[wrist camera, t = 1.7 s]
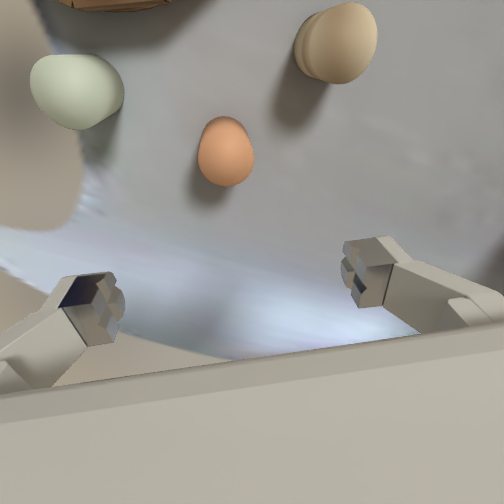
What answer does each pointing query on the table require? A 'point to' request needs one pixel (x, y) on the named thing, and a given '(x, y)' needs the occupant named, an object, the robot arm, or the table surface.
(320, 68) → the tan egg
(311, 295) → the table surface
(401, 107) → the table surface
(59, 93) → the sage green egg
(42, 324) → the robot arm
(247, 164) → the orange egg
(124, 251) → the table surface
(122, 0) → the groove tray
